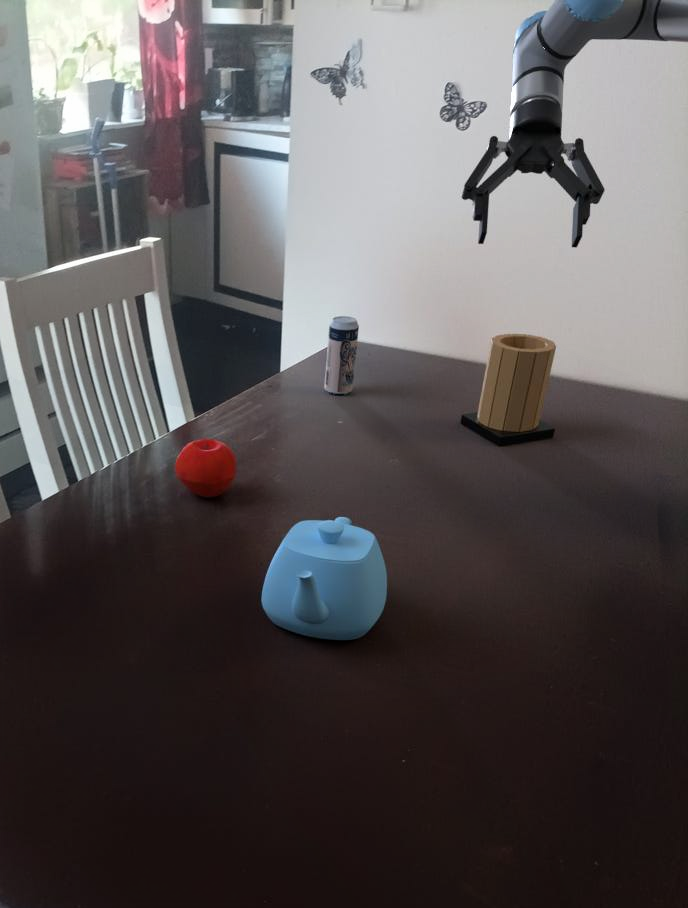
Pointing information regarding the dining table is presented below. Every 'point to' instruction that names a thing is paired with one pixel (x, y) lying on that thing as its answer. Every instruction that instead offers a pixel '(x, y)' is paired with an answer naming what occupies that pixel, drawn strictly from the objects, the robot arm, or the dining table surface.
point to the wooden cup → (515, 382)
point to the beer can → (341, 355)
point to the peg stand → (506, 436)
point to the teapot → (326, 580)
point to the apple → (206, 467)
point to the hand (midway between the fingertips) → (529, 240)
